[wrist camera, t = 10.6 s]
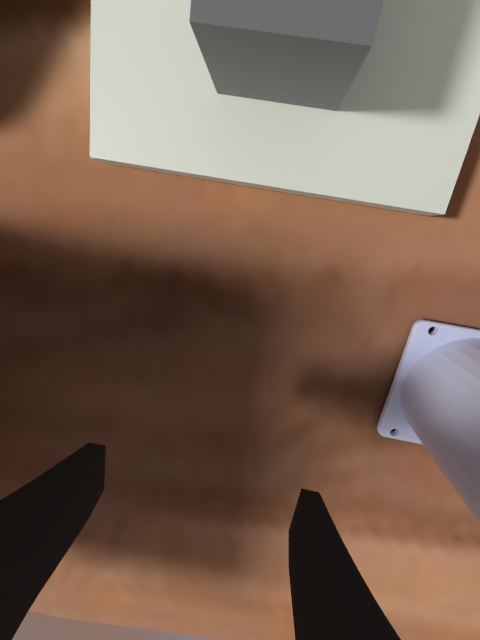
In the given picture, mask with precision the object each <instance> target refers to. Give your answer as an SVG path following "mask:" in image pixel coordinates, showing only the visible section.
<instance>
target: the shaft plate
mask: <svg viewBox="0 0 480 640" xmlns="http://www.w3.org/2000/svg"><path fill="white" fill-rule="evenodd" d="M190 7H191V0H91V65H90V157H91V158H93V159H96V160H98V161H101V162H103V163H105V164H112V165H118V166H124V167H130V168H136V169H142V170H149V171H155V172H161V173H167V174H173V175H179V176H185V177H192V178H198V179H204V180H210V181H216V182H222V183H229V184H235V185H241V186H247V187H253V188H259V189H265V190H272V191H278V192H284V193H290V194H296V195H302V196H308V197H315V198H321V199H327V200H333V201H339V202H345V203H352V204H358V205H364V206H370V207H376V208H382V209H388V210H395V211H401V212H407V213H413V214H419V215H425V216H435V215H445V212H446V210H447V207H448V204H449V201H450V198H451V195H452V192H453V190H454V187H455V184H456V181H457V178H458V175H459V172H460V170H461V167H462V164H463V161H464V158H465V155H466V152H467V150H468V147H469V144H470V141H471V138H472V135H473V132H474V130H475V127H476V124H477V121H478V118H479V115H480V0H383V2H382V6H381V10H380V15H379V19H378V23H377V27H376V31H375V36H374V40H373V44H372V47H371V49H370V51H369V53H368V54H367V56H366V58H365V60H364V62H363V64H362V65H361V67H360V69H359V71H358V73H357V75H356V76H355V78H354V80H353V82H352V84H351V86H350V87H349V89H348V91H347V93H346V95H345V97H344V98H343V100H342V102H341V104H340V106H339V108H338V109H337V111H332V110H325V109H319V108H312V107H305V106H298V105H291V104H284V103H278V102H271V101H264V100H257V99H250V98H244V97H237V96H230V95H223V94H217V91H216V89H215V86H214V84H213V81H212V79H211V76H210V73H209V71H208V68H207V66H206V63H205V61H204V58H203V55H202V53H201V50H200V48H199V45H198V43H197V40H196V38H195V35H194V32H193V30H192V27H191V25H190V22H189V19H190Z"/></svg>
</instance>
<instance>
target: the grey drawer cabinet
mask: <svg viewBox="0 0 480 640" xmlns="http://www.w3.org/2000/svg"><path fill="white" fill-rule="evenodd" d="M382 2H383V0H191V7H190V19H189V22H190V25H191V27H192V30H193V32H194V35H195V38H196V40H197V43H198V45H199V48H200V50H201V53H202V55H203V58H204V61H205V63H206V66H207V68H208V71H209V73H210V76H211V79H212V81H213V84H214V86H215V89H216V91H217V94H223V95H230V96H237V97H244V98H250V99H257V100H264V101H271V102H278V103H284V104H291V105H298V106H305V107H312V108H319V109H325V110H332V111H337V109H338V108H339V106H340V104H341V102H342V100H343V98H344V97H345V95H346V93H347V91H348V89H349V87H350V86H351V84H352V82H353V80H354V78H355V76H356V75H357V73H358V71H359V69H360V67H361V65H362V64H363V62H364V60H365V58H366V56H367V54H368V53H369V51H370V49H371V47H372V44H373V40H374V36H375V31H376V27H377V23H378V19H379V15H380V10H381V6H382Z"/></svg>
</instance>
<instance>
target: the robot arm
mask: <svg viewBox="0 0 480 640" xmlns="http://www.w3.org/2000/svg"><path fill="white" fill-rule="evenodd" d="M431 327H434V331H433V332H431V333H428V330H429V329H430V328H431ZM392 429H396V430H395V431H394V432H390V431H391V430H392ZM377 431H378V432H379V434H380V435H381V436H383V437H388V438H393V439H398V440H403V441H408V442H413V443H418V444H423V445H424V447H425V448H426V449H427V451H428V452H429V454H430V455H431V456H432V458H433V459H434V461H435V462H436V463H437V465H438V466H439V468H440V469H441V470H442V472H443V473H444V475H445V476H446V477H447V479H448V480H449V482H450V483H451V484H452V486H453V487H454V489H455V490H456V491H457V493H458V494H459V496H460V497H461V498H462V500H463V501H464V503H465V504H466V505H467V507H468V508H469V510H470V511H471V512H472V514H473V515H474V517H475V518H476V519H477V521H478V522H479V524H480V329H474V328H469V327H463V326H457V325H452V324H446V323H441V322H435V321H430V320H418V321H416V322H415V323H414V325H413V326H412V329H411V332H410V335H409V338H408V340H407V343H406V346H405V349H404V352H403V354H402V357H401V360H400V363H399V366H398V368H397V371H396V374H395V377H394V380H393V382H392V385H391V388H390V391H389V394H388V396H387V399H386V402H385V405H384V408H383V410H382V413H381V416H380V419H379V422H378V424H377ZM105 448H106V446H104V445H99V444H95V443H90V442H89V443H88V444H86V445H85V446H83V447H82V448H80V449H79V450H77V451H76V452H74V453H73V454H71V455H70V456H68V457H67V458H66V459H64V460H63V461H61V462H60V463H58V464H57V465H55V466H54V467H52V468H51V469H49V470H48V471H46V472H45V473H43V474H42V475H40V476H38V477H37V478H35V479H34V480H32V481H31V482H29V483H28V484H26V485H25V486H23V487H21V488H20V489H18V490H17V491H15V492H13V493H12V494H10V495H8V496H7V497H5V498H3V499H2V500H0V640H12V638H13V636H14V635H15V633H16V631H17V629H18V628H19V626H20V624H21V622H22V621H23V619H24V617H25V615H26V613H27V612H28V610H29V609H30V607H31V605H32V604H33V602H34V601H35V599H36V597H37V596H38V594H39V593H40V591H41V590H42V588H43V587H44V585H45V584H46V582H47V581H48V579H49V578H50V576H51V575H52V573H53V572H54V570H55V569H56V567H57V566H58V564H59V563H60V561H61V560H62V558H63V557H64V555H65V554H66V552H67V551H68V549H69V548H70V546H71V545H72V543H73V542H74V540H75V539H76V537H77V536H78V534H79V533H80V531H81V529H82V528H83V526H84V525H85V523H86V522H87V520H88V519H89V517H90V515H91V513H92V511H93V509H94V507H95V506H96V504H97V502H98V500H99V498H100V496H101V494H102V492H103V490H104V473H105ZM289 574H290V586H291V597H292V607H293V618H294V628H295V639H296V640H401V639H400V638H399V636H398V635H397V633H396V632H395V630H394V629H393V627H392V626H391V624H390V623H389V621H388V619H387V618H386V616H385V615H384V613H383V611H382V610H381V608H380V607H379V605H378V603H377V602H376V600H375V598H374V597H373V595H372V593H371V592H370V590H369V588H368V586H367V585H366V583H365V581H364V580H363V578H362V576H361V574H360V572H359V571H358V569H357V567H356V565H355V563H354V562H353V560H352V558H351V556H350V554H349V552H348V550H347V548H346V547H345V545H344V543H343V541H342V539H341V537H340V535H339V533H338V531H337V529H336V527H335V525H334V523H333V521H332V519H331V516H330V514H329V512H328V510H327V508H326V506H325V504H324V501H323V499H322V497H321V495H320V494H319V492H315V491H310V490H306V489H301V492H300V495H299V499H298V502H297V505H296V509H295V512H294V515H293V519H292V522H291V525H290V529H289Z"/></svg>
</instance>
